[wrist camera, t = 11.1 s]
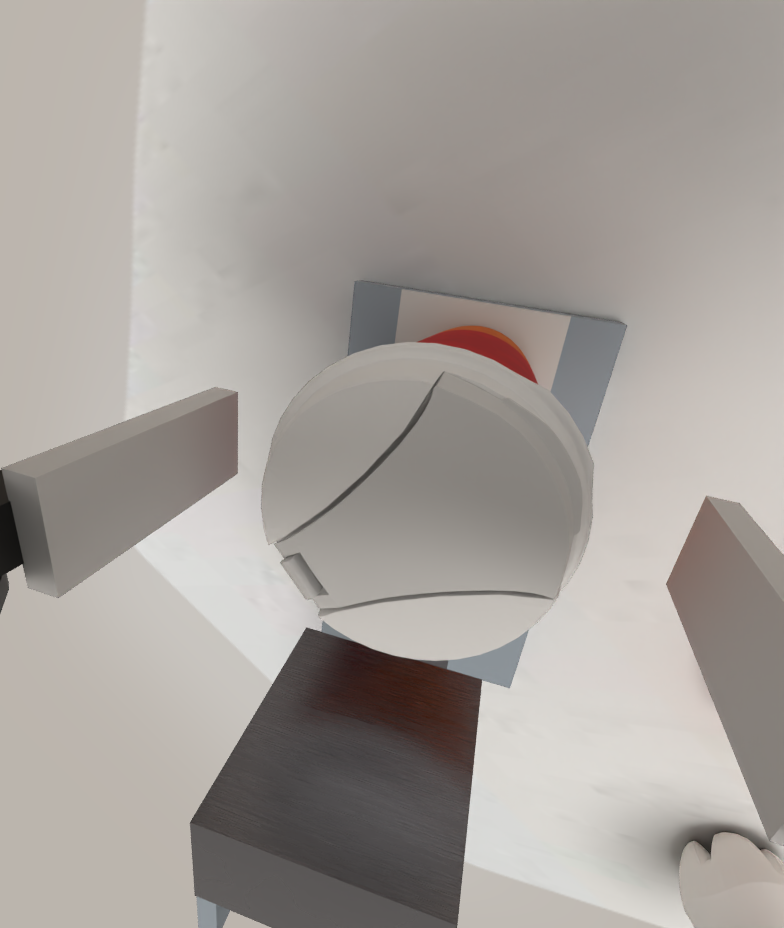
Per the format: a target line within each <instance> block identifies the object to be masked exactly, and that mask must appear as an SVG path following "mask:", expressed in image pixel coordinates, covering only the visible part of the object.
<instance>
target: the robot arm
mask: <svg viewBox="0 0 784 928" xmlns="http://www.w3.org/2000/svg"><path fill="white" fill-rule="evenodd" d="M1 469H2V470H0V613H1V610H2V607H3V604H4V602H5V599H6V596H7V593H8V590H9V582H8V578H7V574H6V573H8V572H9V571H11V570H13V569H14V568H16V567H18V566H20V565H21V564H23V568H24V572H25V577H26V582H27V586H28V588H30V589H33V590H36V591H39V592H41V593H44V594H47V595H50V596H53V597H56V598H59V597H61V596H62V595H64V594H65V593H66V592H68V591H69V590H71V589H72V588H74V587H75V586H77V585H78V584H79V583H81V582H82V581H84V580H85V579H87V578H88V577H89V576H91V575H92V574H94V573H95V572H97V571H98V570H100V569H101V568H102V567H104V566H105V565H107V564H108V563H110V562H111V561H112V560H114V559H115V558H117V557H118V556H120V555H121V554H123V553H124V552H125V551H127V550H128V549H130V548H131V547H133V546H134V545H136V544H137V543H138V542H140V541H141V540H143V539H144V538H146V537H147V536H148V535H150V534H151V533H153V532H154V531H156V530H157V529H159V528H160V527H161V526H163V525H164V524H166V523H167V522H169V521H170V520H171V519H173V518H174V517H176V516H177V515H179V514H180V513H182V512H183V511H184V510H186V509H187V508H189V507H190V506H192V505H193V504H195V503H196V502H197V501H199V500H200V499H202V498H203V497H205V496H206V495H207V494H209V493H210V492H212V491H213V490H215V489H216V488H218V487H219V486H220V485H222V484H223V483H225V482H226V481H228V480H229V479H230V478H232V477H233V476H235V475H236V474H238V392H236V391H231V390H227V389H222V388H218V387H214V388H211V389H209V390H206V391H204V392H201V393H198V394H196V395H193V396H190V397H188V398H185V399H182V400H180V401H177V402H175V403H172V404H169V405H167V406H164V407H161V408H159V409H156V410H153V411H151V412H148V413H146V414H143V415H140V416H138V417H135V418H132V419H130V420H127V421H124V422H122V423H119V424H117V425H114V426H111V427H109V428H106V429H104V430H101V431H98V432H96V433H93V434H90V435H88V436H85V437H82V438H80V439H77V440H74V441H72V442H69V443H67V444H64V445H61V446H59V447H56V448H53V449H51V450H48V451H45V452H43V453H40V454H37V455H35V456H32V457H29V458H27V459H24V460H22V461H19V462H16V463H14V464H11V465H9V466H6V467H3V468H1ZM666 585H667V587H668V590H669V592H670V595H671V597H672V600H673V602H674V605H675V607H676V610H677V612H678V615H679V617H680V620H681V622H682V625H683V627H684V630H685V632H686V635H687V637H688V640H689V642H690V645H691V647H692V650H693V652H694V655H695V657H696V660H697V662H698V665H699V667H700V670H701V672H702V675H703V677H704V680H705V682H706V685H707V687H708V690H709V692H710V695H711V697H712V699H713V702H714V704H715V707H716V709H717V712H718V714H719V717H720V719H721V722H722V724H723V727H724V729H725V732H726V734H727V737H728V739H729V742H730V744H731V747H732V749H733V752H734V754H735V757H736V759H737V762H738V764H739V767H740V769H741V772H742V774H743V777H744V779H745V782H746V784H747V787H748V789H749V792H750V794H751V797H752V799H753V802H754V804H755V807H756V809H757V812H758V814H759V817H760V819H761V822H762V824H763V827H764V829H765V832H766V834H767V837H768V839H769V841H770V842H773V843H776V844H779V845H782V846H784V555H783V554H782V553H781V552H780V550H779V549H778V548H777V547H776V546H775V544H774V543H773V542H772V541H771V540H770V539H769V537H768V536H767V535H766V534H765V533H764V531H763V530H762V529H761V528H760V527H759V526H758V524H757V523H756V522H755V521H754V520H753V518H752V517H751V516H750V515H749V514H748V513H747V511H746V510H745V509H744V508H743V507H742V505H741V504H740V503H736V502H732V501H727V500H723V499H718V498H714V497H709V496H706V497H705V500H704V502H703V504H702V506H701V508H700V511H699V513H698V515H697V517H696V519H695V522H694V524H693V526H692V528H691V530H690V533H689V535H688V537H687V539H686V542H685V544H684V546H683V548H682V550H681V553H680V555H679V557H678V559H677V561H676V564H675V566H674V568H673V570H672V572H671V575H670V577H669V579H668V581H667V583H666Z"/></svg>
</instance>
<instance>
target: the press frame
mask: <svg viewBox="0 0 784 928" xmlns="http://www.w3.org/2000/svg"><path fill="white" fill-rule="evenodd" d="M460 326H483V327H487V328H491V329H494V330H496V331H498V332H500V333H502V334H504V335H505V336H507V337H508V338H510V339H511V340H512V341H513V342H514V343H515V344H516V345H517V346H518V347H519V348H520V350H521V351H522V352H523V354H524V355H525V357H526V359H527V360H528V362H529V364H530V366H531V369H532V371H533V373H534V375H535V378H536V380H537V382H538V385H540V386H542V387H544V388H546V389H548V390H549V391H550V392H551V393H552V394H553V395H554V397H555V398H556V399H557V400H558V401H559V402H560V403H561V404H562V406H563V407H564V408H565V409H566V410H567V411H568V412H569V414H570V416H571V417H572V419H573V421H574V422H575V424H576V425H577V427H578V429H579V430H580V432H581V434H582V435H583V437H584V440H585V442H586V445H587V447H588V445H589V442H590V439H591V436H592V433H593V430H594V426H595V423H596V420H597V417H598V414H599V411H600V408H601V405H602V402H603V399H604V396H605V392H606V389H607V386H608V383H609V380H610V377H611V374H612V371H613V368H614V365H615V361H616V358H617V355H618V352H619V349H620V346H621V343H622V340H623V337H624V334H625V331H626V327H627V325H626V324H624V323H622V322H616V321H610V320H604V319H598V318H591V317H585V316H579V315H573V314H567V313H560V312H554V311H548V310H542V309H535V308H529V307H523V306H517V305H511V304H504V303H498V302H492V301H486V300H479V299H473V298H467V297H461V296H455V295H448V294H442V293H436V292H430V291H423V290H417V289H411V288H405V287H398V286H392V285H386V284H380V283H374V282H367V281H355V284H354V295H353V305H352V316H351V327H350V337H349V348H348V356H349V355H351V354H353V353H357V352H360V351H363V350H366V349H370V348H373V347H376V346H380V345H388V344H396V343H404V342H418V341H420V340H423V339H425V338H428V337H430V336H432V335H435V334H437V333H440V332H443V331H445V330H448V329H452V328H456V327H460ZM528 631H529V630H527V631H526V632H525V633H524V634H522V635H521V636H520V637H518V638H517V639H515V640H513V641H511V642H509V643H507V644H506V645H504V646H502V647H500V648H498V649H495V650H492V651H489V652H486V653H484V654H481V655H477V656H472V657H467V658H462V659H456V660H441V661H432V660H418V661H421V662H425V663H428V664H431V665H435V666H438V667H442V668H445V669H448V670H452V671H455V672H459V673H462V674H465V675H469V676H472V677H475V678H479V679H482V680H484V681H487V682H490V683H494V684H497V685H501V686H504V687H507V688H510V686H511V683H512V680H513V677H514V674H515V671H516V668H517V665H518V662H519V658H520V655H521V652H522V649H523V646H524V643H525V640H526V637H527V634H528ZM322 632H323V633H327V634H330V635H333V636H337V637H340V638H344V639H347V640H350V641H354V640H352V639H350V638H348V637H347V636H345V635H343V634H342V633H340V632H338V631H337V630H335V629H333V628H332V627H331V626H329V625H328V624H327V623H325V622H324V621H323V623H322ZM354 642H356V641H354ZM357 643H358V642H357ZM415 660H416V659H415ZM197 911H198V927H199V928H222V927H223V925H224V923H225V921H226V918H227V916H228V914H229V912H230V910H228V909H226V908H224V907H221V906H219V905H216V904H214V903H212V902H209V901H207V900H204V899H202V898H199V897H197Z"/></svg>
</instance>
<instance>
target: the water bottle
mask: <svg viewBox="0 0 784 928" xmlns="http://www.w3.org/2000/svg"><path fill="white" fill-rule="evenodd" d="M679 885H680V893H681V898H682V902H683V906H684V910H685V912H686V914H687V915H688V917H689V919H690V920H691V922H692V924H693V926H694V928H784V863H783V862H782V861H781V860H780V859H779V858H778V857H777V856H776V855H774V854H773V853H772V852H770V851H769V850H767V849H762V850H759V849H758V848H757V847H756V846H755V845H754V844H753V843H752V842H751V841H750V840H749V839H747V838H745V837H743V836H741V835H738V834H735V833H728V832H721V833H718V834H715V835H714V837H713V841H712V847H711V855H710V854H709V853H708V852H707V851H706V849H705V848H704V847H703V846H702V845H700V844H699V843H698V842H696V841H692V842H689V843H688V844H687V845H686V847H685V848H684V850H683V852H682V856H681V860H680V867H679Z"/></svg>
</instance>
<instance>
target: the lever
mask: <svg viewBox="0 0 784 928" xmlns="http://www.w3.org/2000/svg"><path fill="white" fill-rule="evenodd" d="M481 685H482V679H479V678H475V677H472V676H469V675H465V674H462V673H459V672H455V671H452V670H448V669H445V668H442V667H438V666H435V665H431V664H428V663H425V662H421V661H418V660H415V659H410V658H404V657H399V656H394V655H390V654H387V653H384V652H381V651H378V650H374V649H372V648H369V647H367V646H365V645H363V644H360V643H357V642H354V641H350V640H347V639H344V638H340V637H337V636H333V635H330V634H327V633H323V632H320V631H316V630H313V629H310V628H306V629H305V631H304V632H303V634H302V636H301V638H300V639H299V641H298V643H297V644H296V646H295V648H294V649H293V651H292V653H291V654H290V656H289V658H288V659H287V661H286V663H285V664H284V666H283V668H282V669H281V671H280V673H279V674H278V676H277V678H276V679H275V681H274V683H273V684H272V686H271V688H270V690H269V691H268V693H267V694H266V696H265V698H264V700H263V701H262V703H261V705H260V706H259V708H258V710H257V711H256V713H255V715H254V716H253V718H252V720H251V721H250V723H249V725H248V726H247V728H246V730H245V731H244V733H243V735H242V736H241V738H240V740H239V741H238V743H237V745H236V746H235V748H234V750H233V752H232V753H231V755H230V756H229V758H228V760H227V762H226V763H225V765H224V767H223V768H222V770H221V772H220V773H219V775H218V777H217V778H216V780H215V782H214V783H213V785H212V787H211V788H210V790H209V792H208V793H207V795H206V797H205V798H204V800H203V802H202V803H201V805H200V807H199V808H198V810H197V812H196V814H195V815H194V817H193V818H192V820H191V822H190V828H191V843H192V859H193V875H194V890H195V896H197V897H199V898H202V899H204V900H207V901H209V902H212V903H214V904H216V905H219V906H221V907H224V908H226V909H228V910H231V911H233V912H236V913H238V914H240V915H243V916H245V917H248V918H250V919H253V920H255V921H257V922H260V923H262V924H265V925H267V926H269V927H272V928H457V923H458V914H459V904H460V894H461V884H462V874H463V864H464V854H465V844H466V834H467V824H468V814H469V804H470V794H471V784H472V774H473V765H474V755H475V745H476V735H477V725H478V715H479V705H480V695H481Z"/></svg>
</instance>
